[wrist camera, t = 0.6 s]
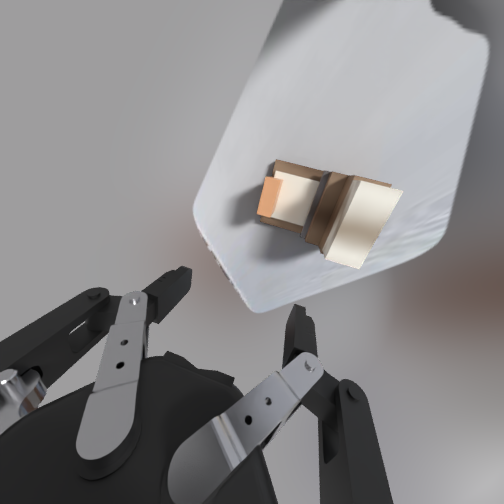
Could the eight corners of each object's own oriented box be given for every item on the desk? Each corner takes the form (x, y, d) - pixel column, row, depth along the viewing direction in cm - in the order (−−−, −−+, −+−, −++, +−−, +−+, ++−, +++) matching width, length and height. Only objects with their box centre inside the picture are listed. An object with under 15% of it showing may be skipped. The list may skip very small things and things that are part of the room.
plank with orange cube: (273, 169, 28) (267, 168, 23) (334, 185, 27) (342, 187, 22) (261, 213, 31) (254, 220, 26) (316, 229, 30) (320, 239, 25)
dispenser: (276, 160, 29) (265, 151, 19) (366, 182, 27) (406, 185, 17) (261, 220, 33) (245, 238, 23) (338, 242, 31) (357, 273, 21)
